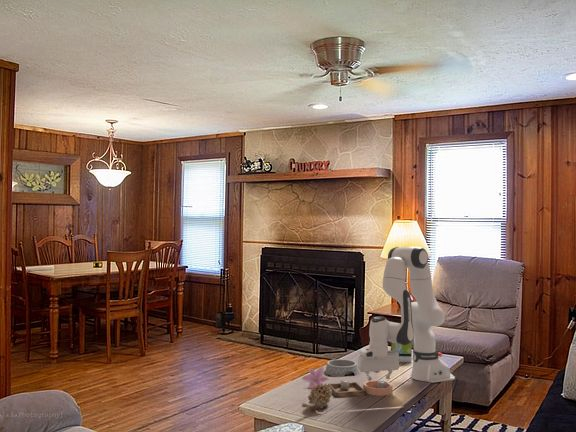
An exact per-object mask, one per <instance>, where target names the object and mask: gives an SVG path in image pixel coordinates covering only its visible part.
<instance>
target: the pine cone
mask: <svg viewBox="0 0 576 432" xmlns="http://www.w3.org/2000/svg"><path fill="white" fill-rule="evenodd" d="M331 391H332V389H330V387H328V384H326V383H324V384H323V385H321V384H320V385H319V384H317V386H314V387H312V388H311V390H310V393H309V395H308V396H307V399H308V400H309V401H308V403H304V402H302V403H301V404H300V405H301V408H313V409H314V410H317V409H320V410H321V409H323V408H324V407H326V406H327V404H328V403H330V401H331V398H332V394H333V393H332V392H331Z"/></svg>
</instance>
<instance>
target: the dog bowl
mask: <svg viewBox="0 0 576 432" xmlns="http://www.w3.org/2000/svg"><path fill="white" fill-rule="evenodd" d="M324 371H325V372H326V373H327V374H326V373H325V374H326V375H328V374H329V376H332V377H339V378H343V377H345V375H350V374H354V376H357V375H359V372H360V371H359V370H358V362H356V361H355V360H351V359H344V358H343V359H339V358H338V359H331V360H329V361H327V363H326V367H325V370H324Z"/></svg>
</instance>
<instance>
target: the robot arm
mask: <svg viewBox="0 0 576 432" xmlns="http://www.w3.org/2000/svg"><path fill="white" fill-rule="evenodd" d="M428 260H429V254H428V252H427V250H426V249H425V248H423V247H422V246H410V245H409V246H400V247H399V246H396V247H393V248H391V249H390V250H389V251H388V254H387V261H386V264H385V267H384V272H383V276H382V289H383V291H384V292H385V294H386V295H387V296H388V297H390V298H393V299H394V300H396V301H397V302H398V304H399V306H400V317H401V318H400V322H394V321H389V320H388V319H387V318H386V316H382V315H381V316H380V315H379V316H373V317H372V318H371V319H370V321H369V322H370V323H369V331H368V333H369V334H368V335H369V342H368V343H369V344H368V346H367V347H364V348H361V349H360V350H359V356H358V359H357V367H358V372H361V373H364V374H365V375H366V378H367V379H366V380H367V381H372V376H370V375H369V374H370V373H371V372H383V371H385V372H386V371H387V374H385V380H390V379H391V376H392V374H393V371H398V370H399V369H400V362H399V360H398V358H399V353H398V352H397V351H396V350H391V349H390V350H389V343H391V342H393V343H398V344H401V345H408V344H409V343H410V342H412V343H413V349H412V369H411V373H410V378H412V379H413V380H417V381H421V382H428V383H439V382H440V383H441V382H447V381H454V380H455V379H456V378H455V375H453V374H452V373H451V370H450V369H451V368H450V367H449V365H448V364H447V363H446V362H444V361H443V360H442V359H441V357H442V356H443V353H442V352H439V351H437V350H436V335H435V334H434V332H433V330H432V327H440V326H442V325H443V324H444V322H445V319H446V315H445V312H444V310H443V309H442V308H441V307H440V305H439V303H438V301H437V298H436V295H435V293H434V288H433V287H434V286H433V282H432V273H431V269H430V268H431V267H430V264H429V262H428ZM407 269H409V270H408V271H409V273H408V275H409V285H410V292H411V293H410V292H409V291H408V289H407V285H406V279H407V278H406V276H407ZM411 295H412V296H413V297H414V299H415V301H412V299H411V298H412V297H411ZM388 342H389V343H388ZM439 357H440V358H439Z"/></svg>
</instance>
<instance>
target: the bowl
mask: <svg viewBox="0 0 576 432" xmlns="http://www.w3.org/2000/svg"><path fill="white" fill-rule="evenodd" d="M378 381H381V380H378V379H377V380H371V381H368V380H367V381H365V382H363V383H362V388H364V389H365V390H366V395H367V394H368V395H372V396H379V397H381V396H389V395H391V394H392V395H393V392H394V389H393V387H394V385H393V384H391V382H388V381H385V382H386V388H378Z"/></svg>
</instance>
